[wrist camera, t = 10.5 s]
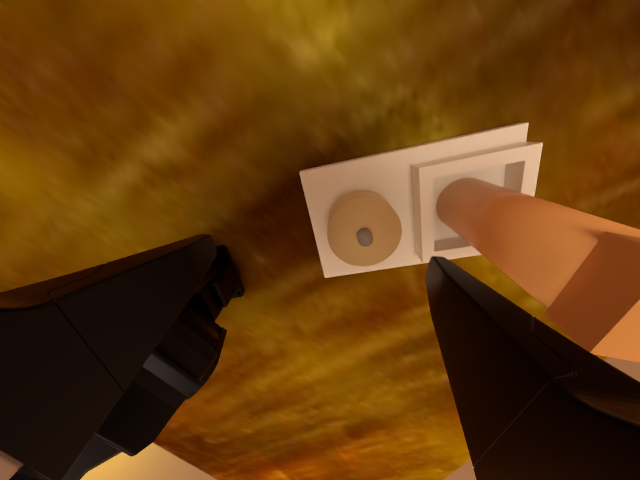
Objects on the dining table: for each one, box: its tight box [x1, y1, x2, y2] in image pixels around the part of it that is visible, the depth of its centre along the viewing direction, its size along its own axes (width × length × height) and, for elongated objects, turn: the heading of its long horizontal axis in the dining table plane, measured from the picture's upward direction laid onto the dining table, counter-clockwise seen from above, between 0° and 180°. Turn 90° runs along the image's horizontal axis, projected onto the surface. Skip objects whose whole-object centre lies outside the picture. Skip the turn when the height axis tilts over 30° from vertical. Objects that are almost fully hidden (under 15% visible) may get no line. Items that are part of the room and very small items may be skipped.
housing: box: [299, 123, 543, 278], centre depth 20 cm, size 18×11×5 cm, turn 102°
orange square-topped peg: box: [436, 178, 640, 362], centre depth 14 cm, size 4×4×14 cm
